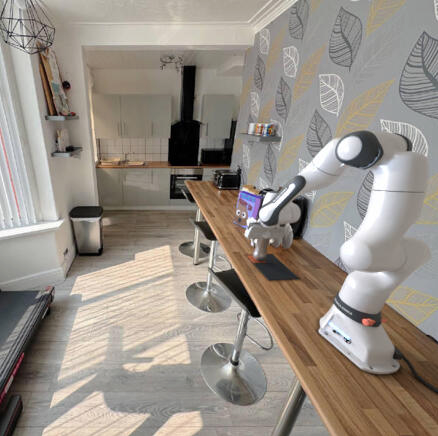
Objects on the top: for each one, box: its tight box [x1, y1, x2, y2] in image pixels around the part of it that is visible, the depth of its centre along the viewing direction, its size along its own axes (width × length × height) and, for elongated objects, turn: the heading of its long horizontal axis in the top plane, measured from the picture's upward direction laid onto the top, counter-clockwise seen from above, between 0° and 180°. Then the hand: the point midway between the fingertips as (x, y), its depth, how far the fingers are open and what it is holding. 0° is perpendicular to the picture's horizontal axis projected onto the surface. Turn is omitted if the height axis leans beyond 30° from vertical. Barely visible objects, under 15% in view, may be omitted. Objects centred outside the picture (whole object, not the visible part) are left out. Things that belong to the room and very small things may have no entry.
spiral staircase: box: [246, 217, 294, 250], centre depth 140 cm, size 18×18×25 cm
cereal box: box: [232, 190, 265, 230], centre depth 163 cm, size 17×5×24 cm, turn 27°
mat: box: [245, 253, 300, 281], centre depth 123 cm, size 22×16×1 cm
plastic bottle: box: [252, 230, 271, 261], centre depth 123 cm, size 6×7×20 cm
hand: (261, 245), depth 124 cm, fingers open, 8 cm apart
